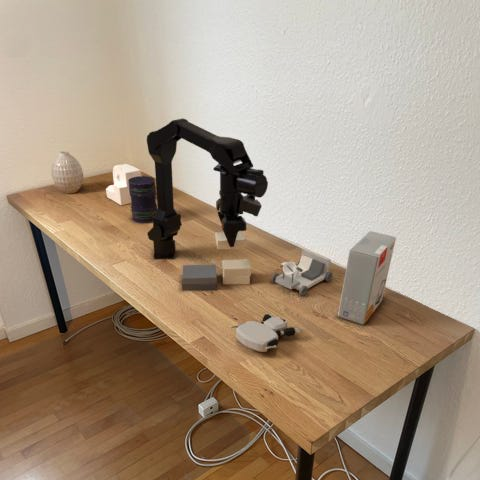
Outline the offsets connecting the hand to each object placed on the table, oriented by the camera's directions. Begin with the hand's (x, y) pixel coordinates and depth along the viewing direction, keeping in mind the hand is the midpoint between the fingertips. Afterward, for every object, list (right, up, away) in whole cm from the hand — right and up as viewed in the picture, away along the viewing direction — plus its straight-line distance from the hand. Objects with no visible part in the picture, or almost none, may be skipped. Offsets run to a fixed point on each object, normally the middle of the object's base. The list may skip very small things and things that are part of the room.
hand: (230, 242), depth 139 cm
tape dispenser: (-47, +30, +66) cm, 87 cm away
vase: (-71, +34, +72) cm, 107 cm away
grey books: (-9, -11, +5) cm, 16 cm away
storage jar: (-34, +17, +47) cm, 60 cm away
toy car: (+21, -11, +6) cm, 24 cm away
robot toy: (+9, -28, -18) cm, 35 cm away
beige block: (+2, -10, +7) cm, 13 cm away
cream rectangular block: (0, -1, 0) cm, 1 cm away
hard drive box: (+36, -20, -5) cm, 42 cm away
